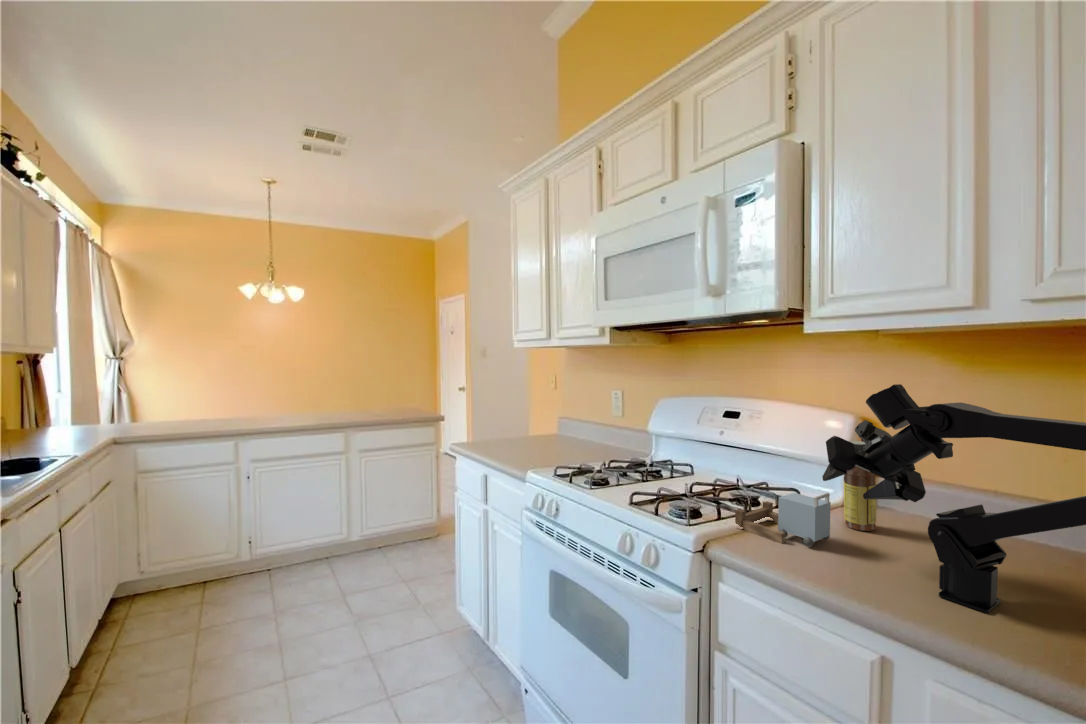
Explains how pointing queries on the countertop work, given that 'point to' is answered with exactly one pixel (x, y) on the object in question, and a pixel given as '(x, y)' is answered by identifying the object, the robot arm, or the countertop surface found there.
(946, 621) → the countertop surface
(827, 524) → the cart
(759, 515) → the bay
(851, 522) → the sauce bottle
